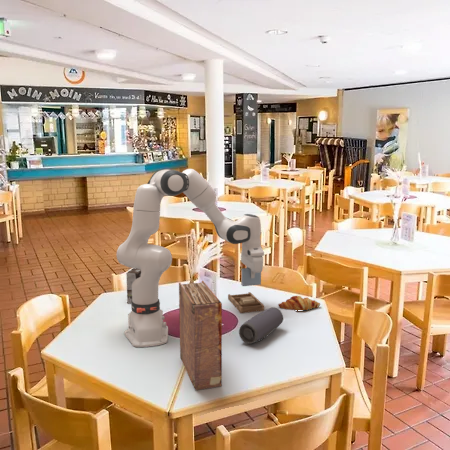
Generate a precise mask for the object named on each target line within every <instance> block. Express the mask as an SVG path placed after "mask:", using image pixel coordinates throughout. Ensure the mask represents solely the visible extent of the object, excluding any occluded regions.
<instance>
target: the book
mask: <svg viewBox="0 0 450 450" xmlns="http://www.w3.org/2000/svg"><path fill="white" fill-rule="evenodd" d="M178 302H179V303H178V306H179V307H178V308H179V353H180V355H179V356H180V360H181V362H182V364H183V366H184V369H185V371H186V374H187V375H188V378H189V379H190V382H191V384H192V386H193V388H194V391H200V390H205V389H206V390H207V389H212V388H218V387H219V388H220V387H222V381H223V380H222V378H223V377H222V374H223V373H222V370H223V369H222V367H223V366H222V363H223V360H222V359H223V358H222V356H223V354H222V353H223V352H222V351H223V349H222V347H223V346H222V345H223V344H222V343H223V342H222V341H223V339H222V337H223V335H222V334H223V333H222V332H223V330H222V329H223V327H222V326H223V303H222V302H221V301H220V299H219V298H218V296H216V294H215V293H214V292H213V290H212V289H211V288H210V287H209V286H208V285H207V283H206V282H205V281H204V280H201V282H195V283H194V282H193V283H185V284H184V283H183V284H182V283H181V282H178Z"/></svg>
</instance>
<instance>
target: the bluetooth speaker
mask: <svg viewBox="0 0 450 450" xmlns="http://www.w3.org/2000/svg"><path fill="white" fill-rule="evenodd" d="M283 322H284V315H283V312H282V311H281V310H280V309H279V308H278V307H275V306H273V307H269V308H267V309H264V311H260V312H258V313H257V314H256V315H253V316H252V317H251V318H250V319H248V320H246V321H245V322H244V323H243V324H241V326H239V330H238V334H239V338H240V339H241V341H243V342H244V343H245V344H249V345H251V344H254V343H256V342H260V341H262V340H263V339H265V338H266V337H268V336H269V335H270V334H271V333H272V332H273V331H275V330H276V329H277V328H278V327H279V326H281V325H282V323H283ZM267 335H268V336H267ZM264 337H265V338H264ZM261 339H262V340H261ZM259 340H260V341H259Z"/></svg>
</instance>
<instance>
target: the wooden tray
mask: <svg viewBox="0 0 450 450" xmlns="http://www.w3.org/2000/svg"><path fill="white" fill-rule="evenodd" d="M247 297H252V298H253V299H255V303H247V304H239V302H240V298H247ZM227 299H228V301H229V302H230V303H231V304H232V306H234V308H236V310H237V311H238V312H239V313H240V314H244V313H252V312H253V313H254V312H255V313H256V312H263V311H265V305H264V303H262V302H261V300H259V298H257V297H256V296H255V295H254V294H253V293H251V292H248V293H241V294H230V293H229V294H227Z"/></svg>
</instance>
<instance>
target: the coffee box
mask: <svg viewBox="0 0 450 450" xmlns="http://www.w3.org/2000/svg"><path fill="white" fill-rule="evenodd" d="M125 275H126V297H127V299H126V300H127V304H131V301H132V283H133V282H134V281H135V280H136V279H137V278H139V277H140V276H141V269H136V268H131V269H130V270H129V271H127V272H126V273H125Z"/></svg>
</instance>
